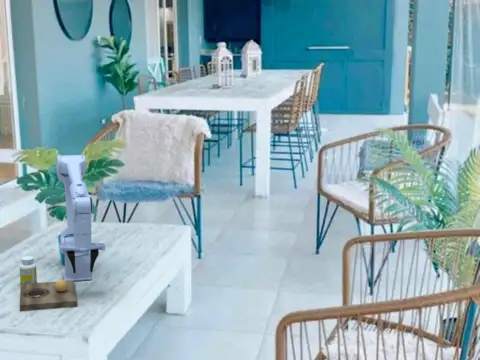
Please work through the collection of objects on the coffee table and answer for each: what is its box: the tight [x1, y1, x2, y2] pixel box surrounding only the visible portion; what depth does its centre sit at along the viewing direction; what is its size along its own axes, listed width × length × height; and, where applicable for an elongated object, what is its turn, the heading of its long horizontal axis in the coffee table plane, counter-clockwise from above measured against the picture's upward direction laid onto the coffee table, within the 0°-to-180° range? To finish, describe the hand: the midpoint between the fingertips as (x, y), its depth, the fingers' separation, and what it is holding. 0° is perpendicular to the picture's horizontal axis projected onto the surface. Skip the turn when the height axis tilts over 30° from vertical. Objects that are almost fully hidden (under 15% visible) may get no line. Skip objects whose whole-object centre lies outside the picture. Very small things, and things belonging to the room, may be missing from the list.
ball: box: [55, 279, 68, 292], centre depth 217 cm, size 4×4×4 cm
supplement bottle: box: [19, 255, 38, 285], centre depth 226 cm, size 5×5×10 cm
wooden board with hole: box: [19, 280, 78, 312], centre depth 216 cm, size 18×18×2 cm
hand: (82, 271), depth 218 cm, fingers open, 5 cm apart
